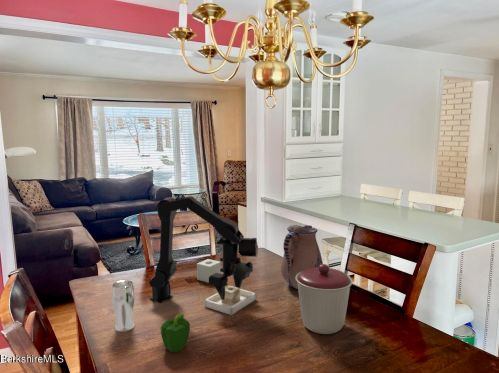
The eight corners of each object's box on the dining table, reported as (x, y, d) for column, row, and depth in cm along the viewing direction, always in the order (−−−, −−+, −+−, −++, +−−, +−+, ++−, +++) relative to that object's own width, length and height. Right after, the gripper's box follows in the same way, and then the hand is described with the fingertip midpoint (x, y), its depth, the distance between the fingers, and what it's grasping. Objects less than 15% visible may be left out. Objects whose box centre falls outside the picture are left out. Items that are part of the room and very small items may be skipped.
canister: (287, 333, 115) (288, 269, 113) (303, 309, 132) (304, 253, 129) (346, 346, 108) (347, 278, 105) (355, 319, 124) (356, 259, 122)
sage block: (210, 283, 157) (209, 266, 156) (197, 279, 161) (196, 263, 161) (221, 278, 163) (220, 261, 162) (208, 274, 168) (208, 258, 167)
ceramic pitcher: (328, 282, 157) (329, 225, 154) (310, 301, 139) (311, 237, 136) (291, 275, 166) (291, 221, 163) (269, 291, 148) (269, 231, 145)
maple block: (232, 305, 134) (231, 292, 134) (221, 302, 137) (221, 289, 137) (240, 300, 138) (239, 288, 138) (229, 297, 141) (229, 285, 141)
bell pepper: (161, 357, 103) (160, 324, 102) (161, 342, 111) (160, 311, 110) (191, 353, 105) (190, 320, 104) (189, 338, 113) (188, 308, 112)
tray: (231, 315, 128) (231, 308, 128) (204, 306, 135) (204, 299, 135) (256, 299, 141) (255, 293, 140) (230, 291, 148) (230, 286, 148)
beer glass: (113, 324, 123) (111, 281, 121) (135, 320, 125) (133, 278, 123) (113, 334, 116) (111, 289, 114) (136, 330, 118) (134, 286, 117)
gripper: (231, 266, 123) (232, 310, 125) (261, 252, 139) (261, 291, 141) (207, 260, 130) (208, 302, 132) (238, 247, 145) (238, 285, 147)
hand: (230, 295), depth 138 cm, fingers open, 9 cm apart
